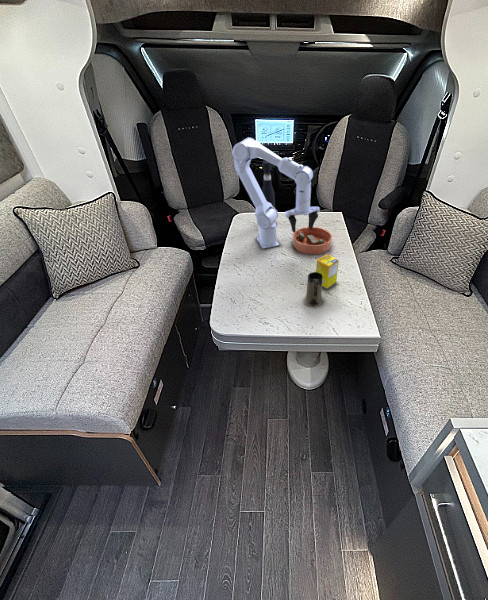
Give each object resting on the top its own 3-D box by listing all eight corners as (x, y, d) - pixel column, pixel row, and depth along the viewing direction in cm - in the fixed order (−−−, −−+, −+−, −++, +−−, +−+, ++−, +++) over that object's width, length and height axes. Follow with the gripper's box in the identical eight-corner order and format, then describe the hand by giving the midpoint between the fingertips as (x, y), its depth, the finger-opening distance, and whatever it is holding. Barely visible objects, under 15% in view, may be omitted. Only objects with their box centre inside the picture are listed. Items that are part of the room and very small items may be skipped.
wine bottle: (270, 228, 166) (268, 165, 147) (259, 224, 168) (256, 162, 149) (277, 223, 170) (276, 161, 151) (267, 220, 173) (265, 158, 154)
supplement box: (324, 277, 134) (326, 253, 127) (336, 284, 131) (339, 259, 124) (314, 283, 131) (316, 259, 124) (326, 290, 128) (328, 266, 121)
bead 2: (315, 240, 151) (316, 245, 150) (321, 236, 150) (322, 242, 149) (319, 243, 154) (320, 248, 152) (324, 240, 152) (326, 245, 151)
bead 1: (297, 234, 153) (296, 239, 155) (303, 237, 152) (301, 242, 155) (301, 231, 155) (299, 236, 157) (306, 234, 154) (305, 239, 156)
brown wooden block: (306, 240, 155) (306, 235, 154) (311, 239, 156) (311, 234, 155) (312, 248, 150) (312, 242, 149) (318, 247, 151) (318, 241, 149)
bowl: (287, 239, 158) (287, 230, 155) (321, 233, 162) (321, 224, 160) (301, 257, 145) (301, 248, 142) (337, 250, 150) (338, 241, 147)
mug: (305, 296, 125) (307, 268, 117) (320, 296, 125) (322, 269, 117) (306, 310, 119) (308, 282, 111) (322, 310, 119) (324, 282, 111)
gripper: (289, 205, 131) (289, 237, 140) (323, 200, 135) (321, 231, 144) (283, 198, 136) (283, 229, 145) (316, 194, 140) (314, 224, 149)
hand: (302, 230), depth 145 cm, fingers open, 7 cm apart
